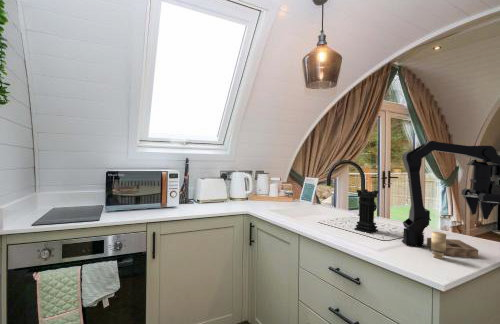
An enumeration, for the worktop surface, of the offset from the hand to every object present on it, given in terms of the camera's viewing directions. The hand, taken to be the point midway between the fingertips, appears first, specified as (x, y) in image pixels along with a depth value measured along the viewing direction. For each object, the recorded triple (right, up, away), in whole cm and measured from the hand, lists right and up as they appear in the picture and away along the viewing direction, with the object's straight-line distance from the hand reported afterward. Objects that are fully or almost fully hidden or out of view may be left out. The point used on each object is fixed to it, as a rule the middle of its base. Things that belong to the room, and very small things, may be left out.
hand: (479, 216), depth 106 cm
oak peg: (-22, -14, -7) cm, 27 cm away
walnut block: (-11, -14, 0) cm, 18 cm away
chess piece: (-33, -13, +27) cm, 45 cm away
